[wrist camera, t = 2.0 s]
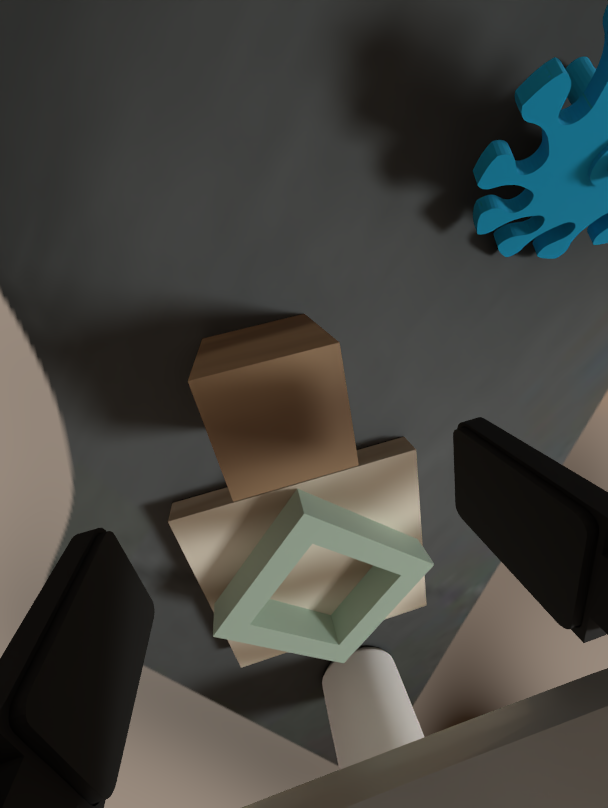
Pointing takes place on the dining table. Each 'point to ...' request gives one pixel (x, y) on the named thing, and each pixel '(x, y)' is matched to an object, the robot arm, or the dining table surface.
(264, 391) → the block
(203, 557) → the board
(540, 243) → the gear
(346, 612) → the pocket
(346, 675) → the can
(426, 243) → the dining table surface
